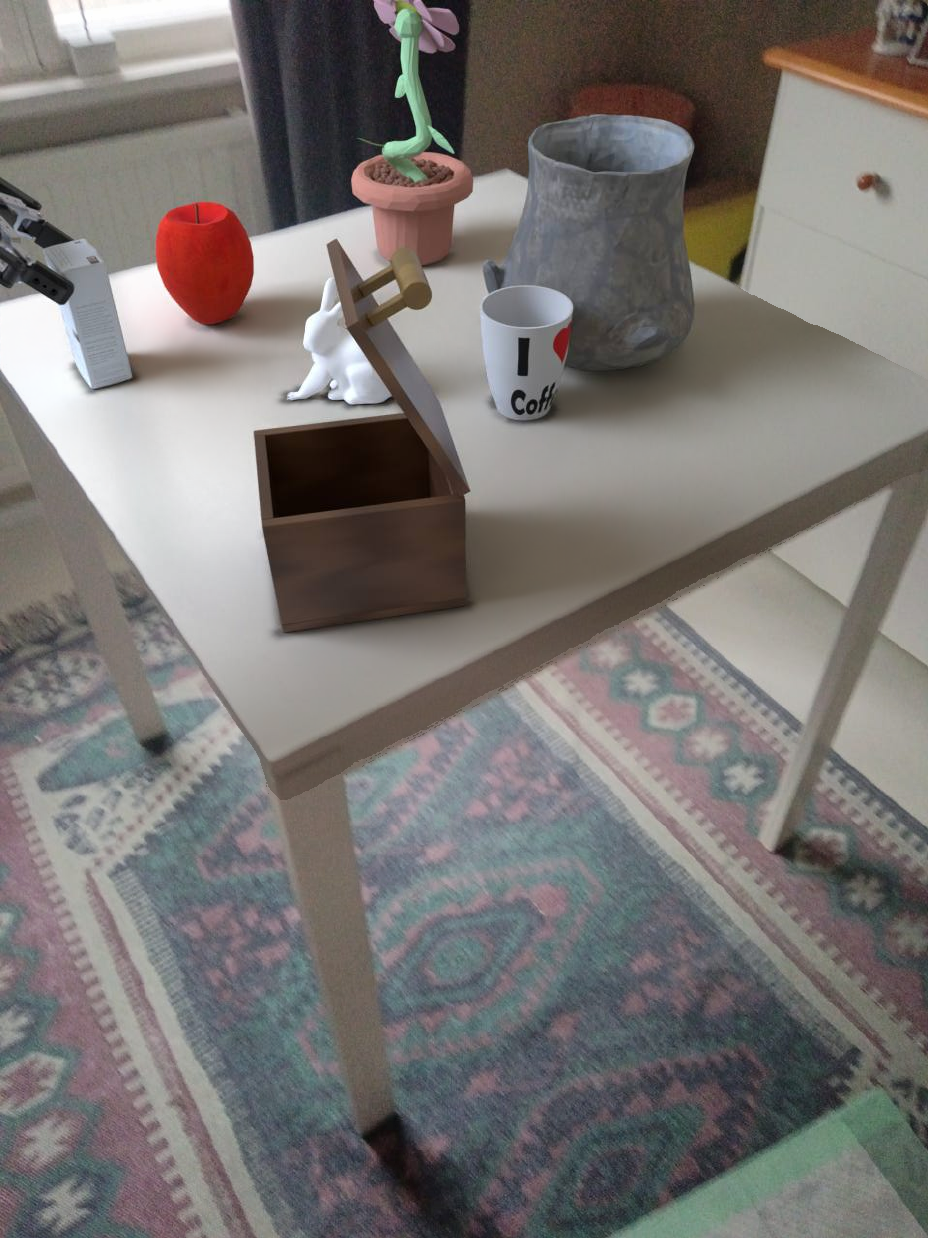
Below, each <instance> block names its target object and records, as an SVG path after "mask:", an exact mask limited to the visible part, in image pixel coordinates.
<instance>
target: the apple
mask: <svg viewBox="0 0 928 1238" xmlns="http://www.w3.org/2000/svg"><path fill="white" fill-rule="evenodd" d="M158 223H159V224H158V226H157V227H158V228H157V231H156V238H155V260H156V268H157V272H158V273H159V276H160V280H161V281H162V284H163V286H164V288H165V290H166V291H167V292H168V294H169V295H170V297H171V298H172V299H173V301H174V302H175V303H176V304H177V305H178V307H179V308H180V309H181V310H183V312H185V313H186V315H187V316H189V318H190V319H192V320H193V321H195V322H196V323H199V324H203V325H215V324H219V323H223V322H225V321H228V320H230V319H232V318H233V317H234V316H236V315H237V313H238V312H239V311H240V309H241V308H242V307H243V305H244V302H245V301H246V298H247V295H248V294H249V291H250V289H251V287H252V284H253V279H254V275H255V259H254V258H255V257H254V252H253V248H252V242H251V240H250V237H249V235H248V233H247V230H246V229H245V227H244V226H243V224H242V222H241V221H240V219H239V217H238V216H237V215H236V213H235V211H233V210H231V209H229V208H228V207H226V205H223V204H221V203H218V202H212V201H197V202H193V203H189V204H185V205H180V206H176V207H175V208H173V209H170V210H168V212H167V213H165V215H164V216H163V217H162V219H160V222H158Z"/></svg>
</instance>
